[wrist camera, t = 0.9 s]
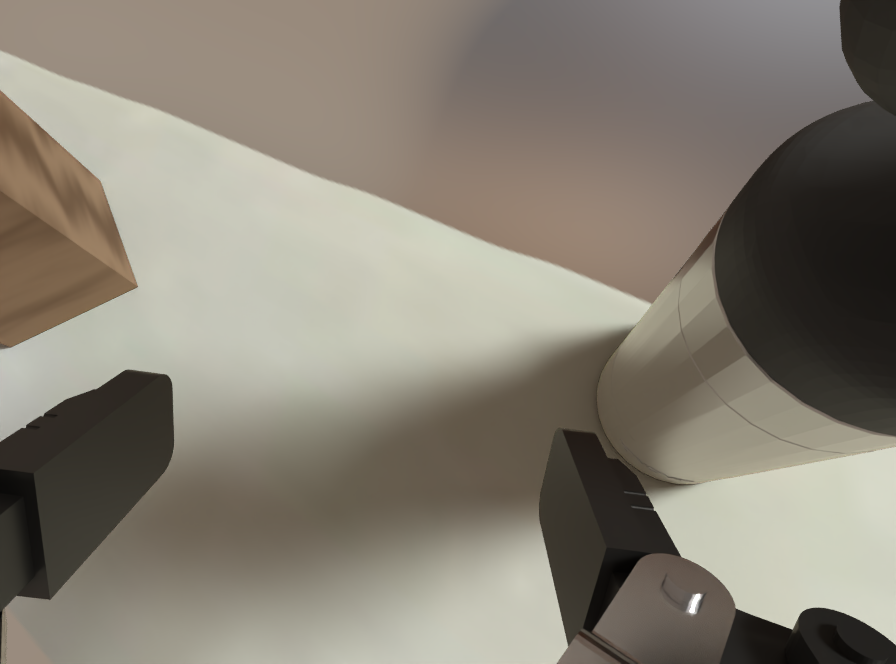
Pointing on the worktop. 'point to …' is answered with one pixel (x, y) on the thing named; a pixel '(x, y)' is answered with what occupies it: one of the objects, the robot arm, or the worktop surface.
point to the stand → (51, 233)
